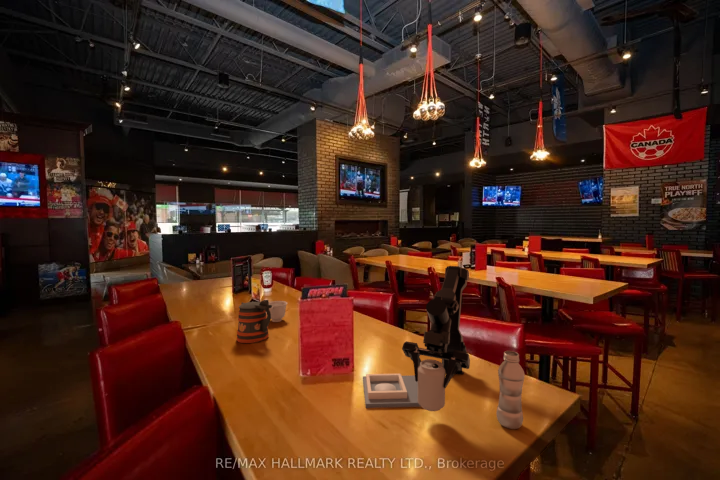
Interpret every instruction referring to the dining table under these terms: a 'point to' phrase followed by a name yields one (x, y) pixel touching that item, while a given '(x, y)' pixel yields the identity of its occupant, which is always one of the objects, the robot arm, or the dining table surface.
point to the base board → (390, 390)
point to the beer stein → (253, 321)
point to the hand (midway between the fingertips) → (430, 384)
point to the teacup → (277, 310)
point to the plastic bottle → (510, 391)
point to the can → (431, 385)
